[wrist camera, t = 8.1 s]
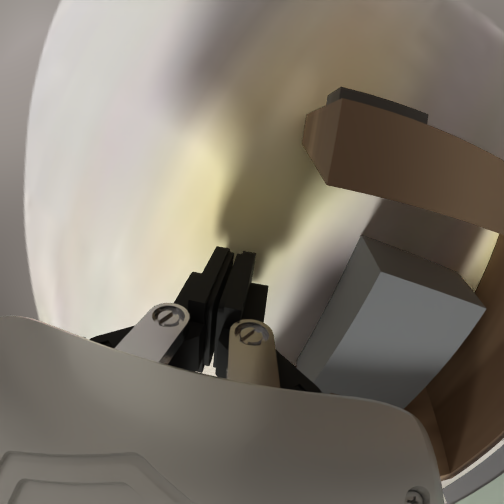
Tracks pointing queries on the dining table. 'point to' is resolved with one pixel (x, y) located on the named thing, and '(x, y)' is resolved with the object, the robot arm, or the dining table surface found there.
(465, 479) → the cover
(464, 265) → the dining table surface
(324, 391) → the slate cuboid
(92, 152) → the dining table surface
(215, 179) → the dining table surface
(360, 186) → the wooden u-shaped stand
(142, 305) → the dining table surface
